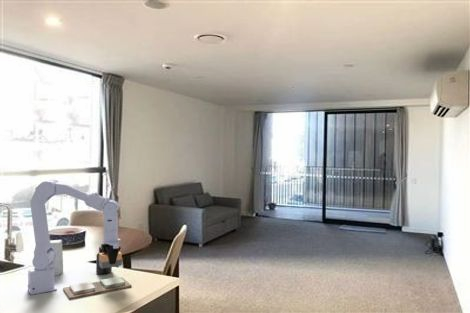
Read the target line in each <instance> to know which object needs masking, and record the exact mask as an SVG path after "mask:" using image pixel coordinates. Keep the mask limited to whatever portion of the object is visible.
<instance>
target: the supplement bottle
mask: <svg viewBox="0 0 470 313" xmlns="http://www.w3.org/2000/svg"><path fill="white" fill-rule="evenodd" d="M99 253H104V251H103V248H102V246H101V245H100V246H99V247H98V252H97V254H96V263H95V270H96V271H95V273H96V274H97V275H100V276H104V275H105V276H106V275H110V274H111V273H112V269H113V267H108V268H101V267H100V266H99Z"/></svg>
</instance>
